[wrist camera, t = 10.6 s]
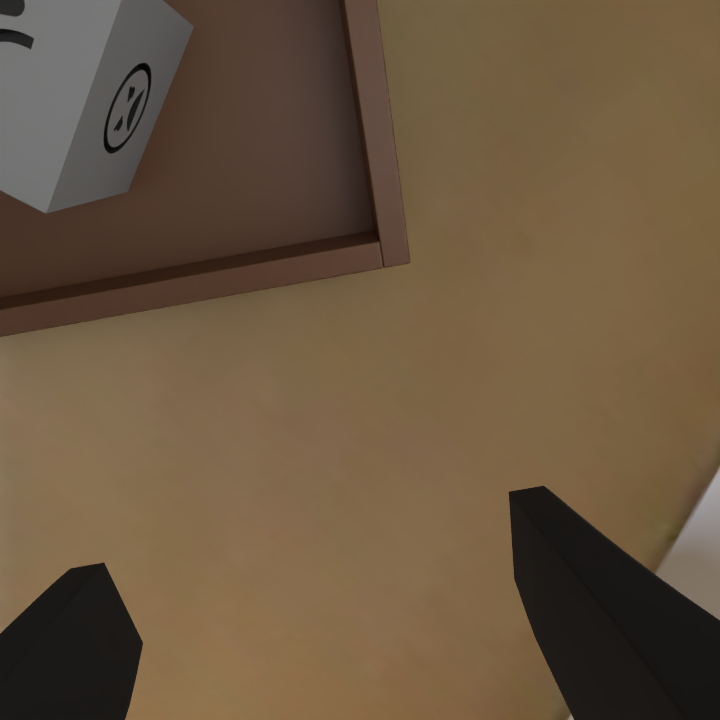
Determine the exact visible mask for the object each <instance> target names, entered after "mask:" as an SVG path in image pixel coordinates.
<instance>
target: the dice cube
mask: <svg viewBox="0 0 720 720" xmlns="http://www.w3.org/2000/svg"><path fill="white" fill-rule="evenodd" d="M193 28H194V26H193V25H192V24H190V23H189V22H188V21H187V20H186V19H185V18H183V17H182V16H181V15H180V14H179V13H177V12H176V11H175V10H174V9H173V8H172V7H170V6H169V5H168V4H167V3H166V2H164V1H163V0H0V190H1V191H3V192H5V193H7V194H9V195H11V196H13V197H15V198H17V199H18V200H20V201H22V202H24V203H26V204H28V205H30V206H32V207H34V208H36V209H38V210H40V211H42V212H44V213H46V214H47V213H50V212H54V211H58V210H62V209H65V208H69V207H73V206H77V205H80V204H84V203H88V202H92V201H95V200H99V199H103V198H107V197H110V196H114V195H118V194H121V193H125V192H128V190H129V188H130V185H131V183H132V180H133V178H134V175H135V173H136V170H137V168H138V165H139V163H140V160H141V158H142V155H143V153H144V150H145V148H146V145H147V143H148V140H149V138H150V135H151V133H152V130H153V128H154V125H155V123H156V120H157V118H158V115H159V113H160V110H161V108H162V105H163V103H164V100H165V98H166V95H167V93H168V90H169V88H170V86H171V83H172V81H173V78H174V76H175V73H176V71H177V68H178V66H179V63H180V61H181V58H182V56H183V53H184V51H185V48H186V46H187V43H188V41H189V38H190V36H191V33H192V31H193Z"/></svg>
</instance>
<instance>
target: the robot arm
mask: <svg viewBox="0 0 720 720" xmlns="http://www.w3.org/2000/svg"><path fill="white" fill-rule="evenodd" d="M509 501H510V517H511V533H512V549H513V565H514V579H515V582H516V585H517V588H518V591H519V593H520V596H521V599H522V602H523V605H524V608H525V611H526V613H527V616H528V619H529V622H530V624H531V627H532V630H533V633H534V636H535V638H536V640H537V642H538V644H539V647H540V649H541V651H542V653H543V655H544V657H545V659H546V661H547V664H548V666H549V668H550V670H551V672H552V674H553V676H554V678H555V681H556V683H557V685H558V687H559V689H560V691H561V693H562V695H563V697H564V699H565V701H566V704H567V706H568V708H569V710H570V712H571V714H572V716H573V718H574V720H720V620H718V619H717V618H715V617H714V616H713V615H711V614H710V613H708V612H707V611H705V610H704V609H702V608H701V607H700V606H698V605H697V604H695V603H694V602H692V601H691V600H689V599H688V598H687V597H685V596H684V595H682V594H681V593H680V592H678V591H677V590H675V589H674V588H673V587H671V586H670V585H669V584H667V583H666V582H664V581H663V580H662V579H660V578H659V577H658V576H656V575H655V574H654V573H652V572H651V571H650V570H648V569H647V568H646V567H644V566H643V565H642V564H641V563H639V562H638V561H637V560H635V559H634V558H633V557H631V556H630V555H629V554H627V553H626V552H625V551H623V550H622V549H621V548H620V547H618V546H617V545H616V544H615V543H613V542H612V541H611V540H609V539H608V538H607V537H606V536H604V535H603V534H602V533H601V532H600V531H598V530H597V529H596V528H595V527H593V526H592V525H591V524H590V523H588V522H587V521H586V520H585V519H584V518H582V517H581V516H580V515H579V514H578V513H576V512H575V511H574V510H573V509H572V508H570V507H569V506H568V505H567V504H566V503H564V502H563V501H562V500H561V499H560V498H558V497H557V496H556V495H555V494H554V493H552V492H551V491H550V490H549V489H547V488H546V487H545V486H540V487H534V488H528V489H522V490H517V491H511V492H509ZM142 645H143V642H142V640H141V638H140V636H139V634H138V632H137V630H136V628H135V626H134V623H133V621H132V619H131V617H130V615H129V613H128V611H127V609H126V607H125V605H124V603H123V601H122V599H121V597H120V595H119V592H118V590H117V588H116V586H115V584H114V582H113V580H112V578H111V576H110V574H109V572H108V570H107V568H106V566H105V563H100V564H94V565H88V566H82V567H77V568H71V569H69V570H68V571H67V572H66V573H65V574H64V575H62V576H61V577H60V578H59V579H58V580H57V581H56V582H54V583H53V584H52V585H51V586H50V587H49V588H48V589H47V590H46V591H45V592H44V593H42V594H41V595H40V596H39V597H38V598H37V599H36V600H35V601H34V602H33V603H32V604H31V605H30V606H29V607H28V608H27V609H26V610H25V611H24V612H22V613H21V614H20V615H19V616H18V617H17V618H16V619H15V620H14V621H13V622H12V623H11V624H10V625H9V626H8V627H7V628H6V629H5V630H4V631H3V632H2V633H1V634H0V720H125V718H126V715H127V712H128V709H129V705H130V701H131V697H132V692H133V688H134V684H135V680H136V675H137V670H138V665H139V660H140V655H141V650H142Z"/></svg>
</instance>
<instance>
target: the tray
mask: <svg viewBox="0 0 720 720" xmlns="http://www.w3.org/2000/svg"><path fill="white" fill-rule="evenodd" d="M163 1H164V2H166V3H167V4H168V5H169V6H170V7H172V8H173V9H174V10H175V11H176V12H177V13H179V14H180V15H181V16H182V17H183V18H185V19H186V20H187V21H188V22H189V23H190V24H192V25H193V26H194V28H193V31H192V33H191V36H190V38H189V41H188V43H187V46H186V48H185V51H184V53H183V56H182V58H181V61H180V63H179V66H178V68H177V71H176V73H175V76H174V78H173V81H172V83H171V86H170V88H169V90H168V93H167V95H166V98H165V100H164V103H163V105H162V108H161V110H160V113H159V115H158V118H157V120H156V123H155V125H154V128H153V130H152V133H151V135H150V138H149V140H148V143H147V145H146V148H145V150H144V153H143V155H142V158H141V160H140V163H139V165H138V168H137V170H136V173H135V175H134V178H133V180H132V183H131V185H130V188H129V190H128V192H125V193H121V194H118V195H114V196H110V197H107V198H103V199H99V200H95V201H92V202H88V203H84V204H80V205H77V206H73V207H69V208H65V209H62V210H58V211H54V212H50V213H47V214H46V213H44V212H42V211H40V210H38V209H36V208H34V207H32V206H30V205H28V204H26V203H24V202H22V201H20V200H18V199H17V198H15V197H13V196H11V195H9V194H7V193H5V192H3V191H1V190H0V337H2V336H8V335H13V334H19V333H25V332H30V331H36V330H41V329H47V328H52V327H58V326H63V325H69V324H75V323H80V322H86V321H91V320H97V319H102V318H108V317H113V316H119V315H125V314H130V313H136V312H141V311H147V310H152V309H158V308H163V307H169V306H175V305H180V304H186V303H191V302H197V301H202V300H208V299H213V298H219V297H225V296H230V295H236V294H241V293H247V292H252V291H258V290H263V289H269V288H275V287H280V286H286V285H291V284H297V283H302V282H308V281H314V280H319V279H325V278H330V277H336V276H341V275H347V274H352V273H358V272H364V271H369V270H375V269H380V268H383V266H384V267H385V268H386V267H392V266H397V265H403V264H408V263H410V255H409V247H408V240H407V232H406V224H405V217H404V209H403V201H402V193H401V186H400V178H399V170H398V162H397V155H396V147H395V139H394V131H393V124H392V116H391V108H390V100H389V93H388V85H387V77H386V69H385V62H384V54H383V46H382V39H381V31H380V23H379V15H378V8H377V0H163Z"/></svg>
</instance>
